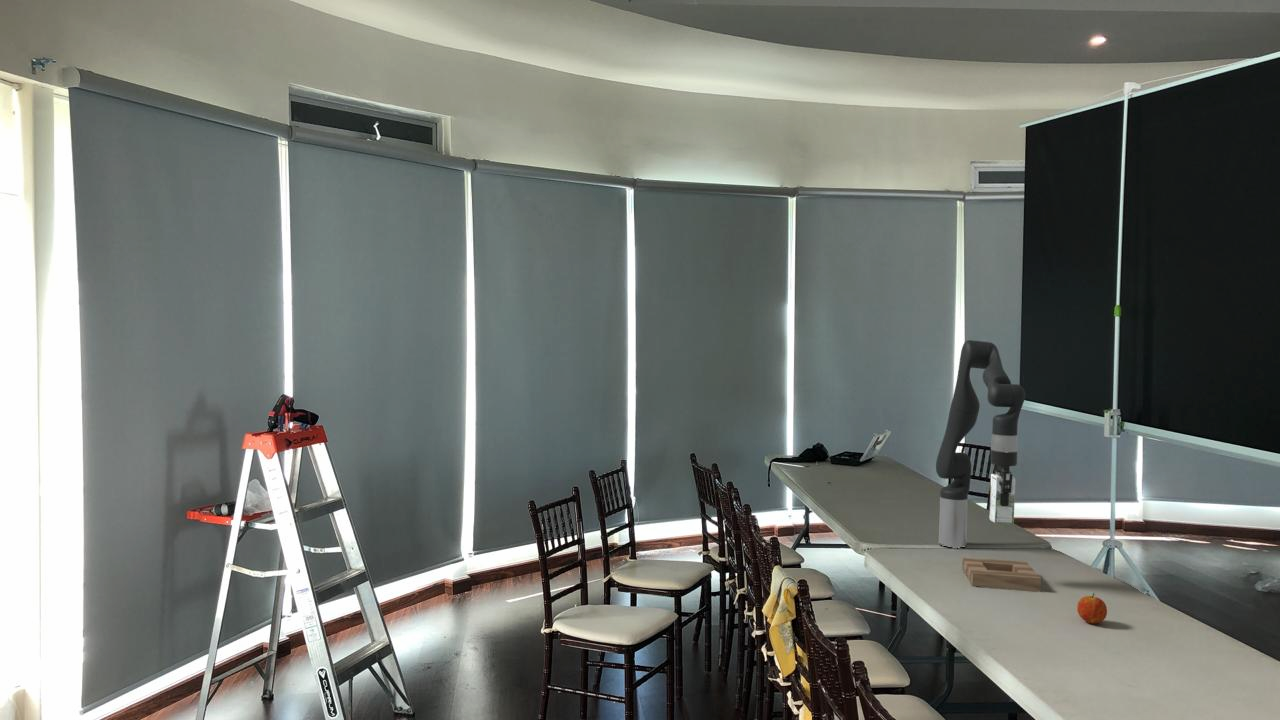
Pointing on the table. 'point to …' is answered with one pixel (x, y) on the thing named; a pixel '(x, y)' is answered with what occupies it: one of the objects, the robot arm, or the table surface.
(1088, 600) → the fruit
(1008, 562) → the socket block
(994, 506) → the syrup box
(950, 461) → the robot arm
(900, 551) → the table surface
